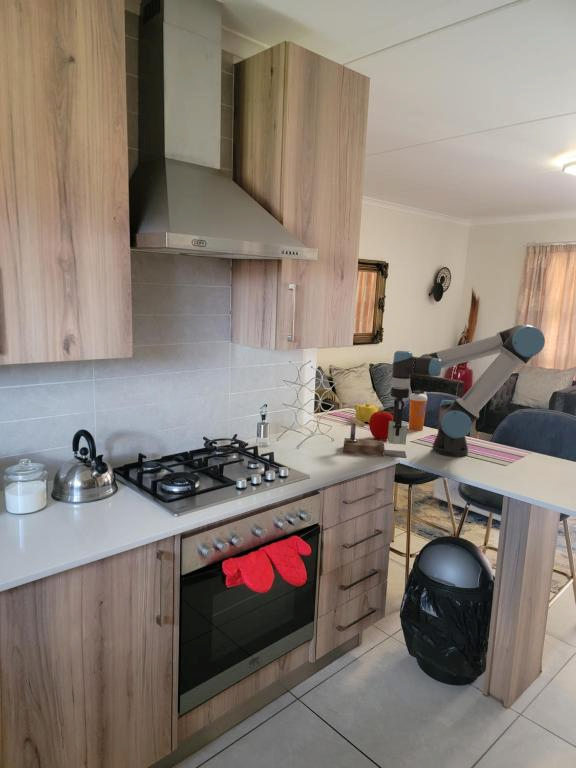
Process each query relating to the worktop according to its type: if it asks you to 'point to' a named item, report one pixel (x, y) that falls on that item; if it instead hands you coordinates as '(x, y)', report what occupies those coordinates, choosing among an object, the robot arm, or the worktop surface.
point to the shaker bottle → (417, 410)
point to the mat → (395, 453)
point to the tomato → (380, 424)
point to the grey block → (402, 434)
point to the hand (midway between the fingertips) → (395, 440)
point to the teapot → (365, 412)
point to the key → (353, 427)
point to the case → (364, 447)
